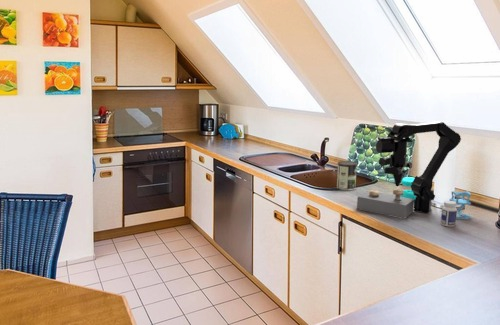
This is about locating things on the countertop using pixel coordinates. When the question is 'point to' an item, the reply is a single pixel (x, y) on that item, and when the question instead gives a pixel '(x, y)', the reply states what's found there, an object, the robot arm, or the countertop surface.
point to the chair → (461, 202)
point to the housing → (385, 205)
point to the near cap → (397, 194)
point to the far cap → (374, 193)
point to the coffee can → (346, 175)
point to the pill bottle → (449, 214)
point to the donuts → (407, 182)
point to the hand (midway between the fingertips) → (397, 186)
